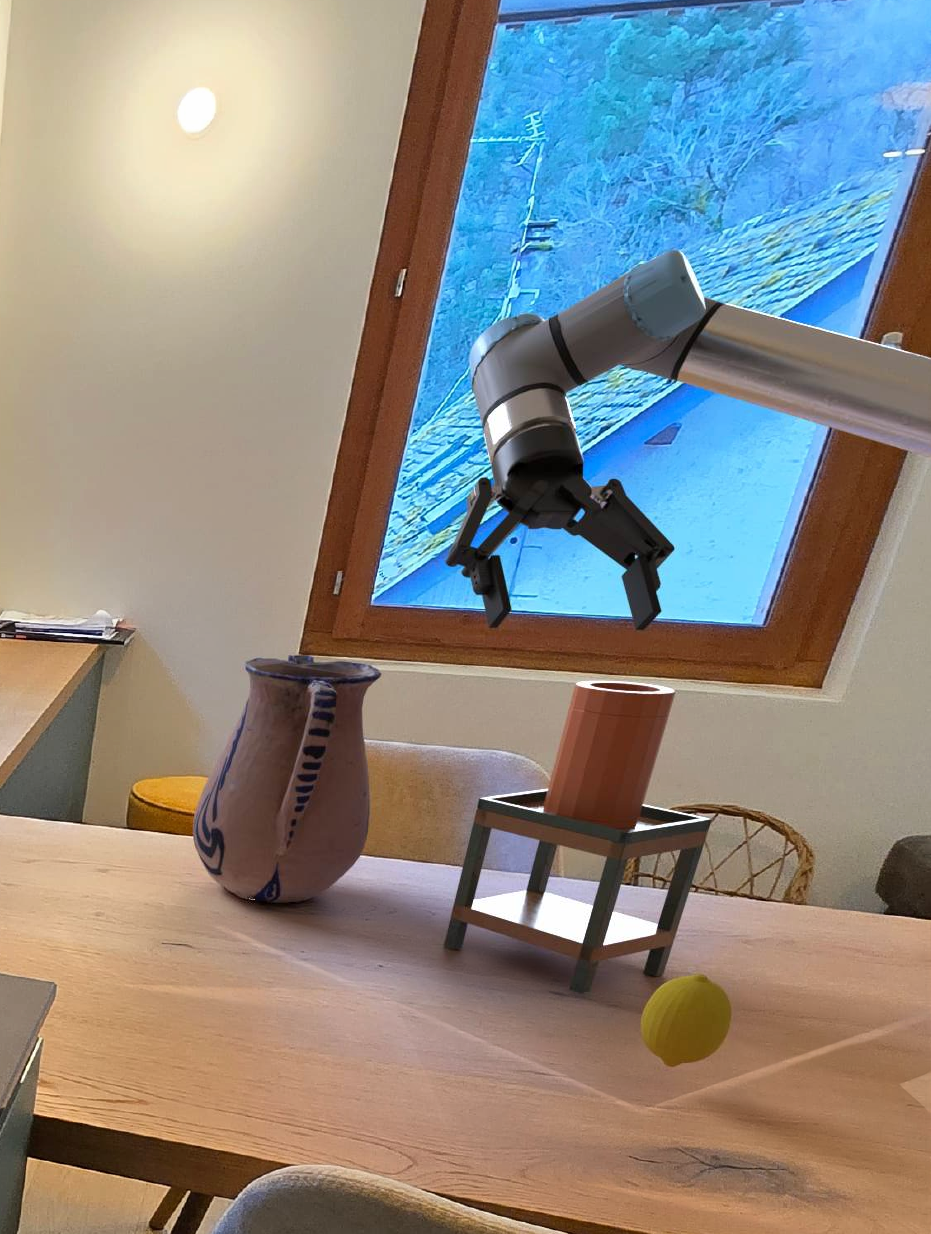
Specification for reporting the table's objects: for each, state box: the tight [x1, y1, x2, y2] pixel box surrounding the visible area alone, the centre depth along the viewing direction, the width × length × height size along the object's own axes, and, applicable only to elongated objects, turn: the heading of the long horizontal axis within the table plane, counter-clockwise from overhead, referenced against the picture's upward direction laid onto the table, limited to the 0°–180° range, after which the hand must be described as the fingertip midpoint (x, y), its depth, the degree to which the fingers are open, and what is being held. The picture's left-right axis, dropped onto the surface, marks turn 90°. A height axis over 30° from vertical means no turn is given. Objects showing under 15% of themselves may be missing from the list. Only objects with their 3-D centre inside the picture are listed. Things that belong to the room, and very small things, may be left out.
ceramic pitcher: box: [192, 654, 382, 904], centre depth 140 cm, size 18×21×25 cm
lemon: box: [640, 973, 732, 1068], centre depth 103 cm, size 6×6×8 cm
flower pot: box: [543, 680, 677, 829], centre depth 119 cm, size 7×7×12 cm
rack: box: [443, 788, 713, 995], centre depth 124 cm, size 14×12×15 cm
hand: (574, 620), depth 125 cm, fingers open, 13 cm apart
